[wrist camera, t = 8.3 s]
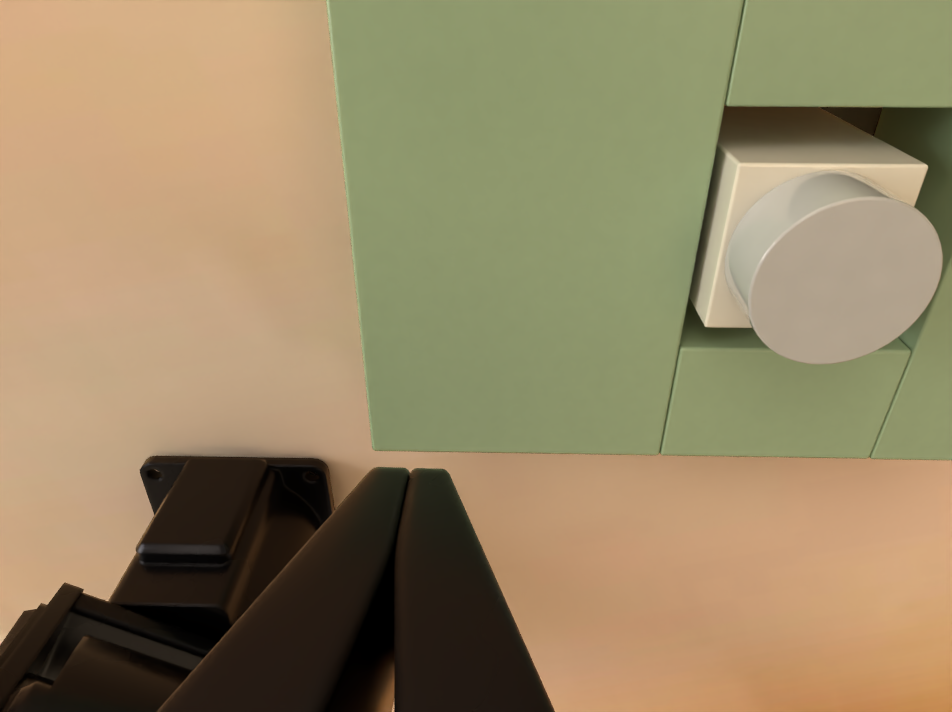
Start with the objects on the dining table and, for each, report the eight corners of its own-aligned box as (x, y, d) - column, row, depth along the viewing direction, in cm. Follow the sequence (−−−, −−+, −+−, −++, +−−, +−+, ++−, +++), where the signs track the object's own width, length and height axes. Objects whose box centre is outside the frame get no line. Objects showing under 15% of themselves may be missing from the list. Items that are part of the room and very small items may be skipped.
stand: (882, 366, 21) (968, 461, 17) (393, 360, 21) (372, 452, 18) (1056, -92, 15) (1252, -101, 11) (359, -92, 15) (314, -101, 11)
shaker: (676, 104, 17) (818, 105, 17) (655, 237, 19) (783, 239, 19) (767, 189, 11) (983, 192, 11) (726, 368, 13) (909, 371, 13)
